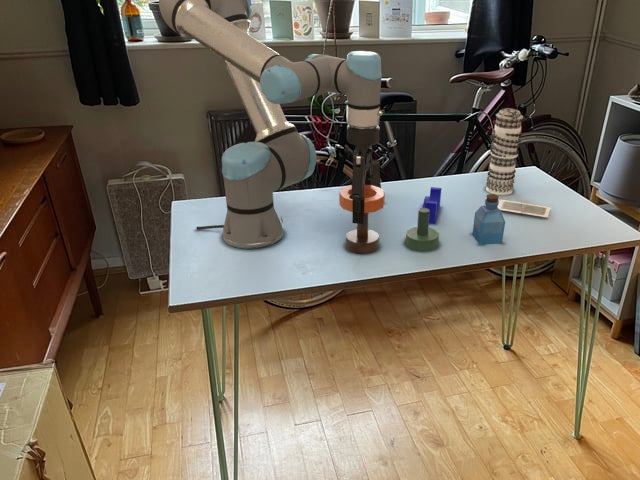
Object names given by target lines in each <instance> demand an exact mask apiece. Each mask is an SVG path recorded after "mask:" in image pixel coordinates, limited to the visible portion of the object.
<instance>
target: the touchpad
mask: <svg viewBox="0 0 640 480" xmlns="http://www.w3.org/2000/svg"><path fill="white" fill-rule="evenodd" d="M498 201H499V204H498V206H497V207H498V208H499V209H500V211H505V212H512V213H517V214H523V215H530V216H536V217H542V218H549V215H550V211H551V208H552V207H550V206H545V205H538V204H533V203H527V202H519V201H514V200H507V199H506V200H505V199H501V198H500V199H499V200H498Z"/></svg>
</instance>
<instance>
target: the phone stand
mask: <svg viewBox="0 0 640 480" xmlns="http://www.w3.org/2000/svg"><path fill="white" fill-rule="evenodd" d="M380 163H381V162H380V160H379V159H378V158H377V159H372V171H373V173H372V174H371V175H374V179H369V180H371V185H373V186H376V187H379V188H381V189H382V184H381V183H382V182H381V173H380V172H381V171H380V169H381V168H380V167H381V166H380V165H381V164H380Z"/></svg>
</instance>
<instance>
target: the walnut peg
mask: <svg viewBox="0 0 640 480" xmlns="http://www.w3.org/2000/svg"><path fill="white" fill-rule="evenodd" d="M345 248H346V250H347V251H349V252H351V253H353V254H359V255H368V254H372V253H375V252H377V250H379V248H380V234H379V233H378V232H377V231H375V230H373V229H370V228H369V213H364V224H356V229H352V230H350V231H348V232H347V233H346V234H345Z"/></svg>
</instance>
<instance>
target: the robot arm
mask: <svg viewBox="0 0 640 480" xmlns="http://www.w3.org/2000/svg"><path fill="white" fill-rule="evenodd" d="M251 6H252V0H158V8H159V12H160V14H161V17H162V19H163V20H164V22H165V24H166V25H167V26H168V27H169V28H170V29H171V30H172V31H173V32H175V33H176V34H177V35H178V36H180V37H182V38H183V39H186V40H191V41H192V40H193V41H196V42H197V43H199V44H200V45H202V46H203V47H205V48H206V49H208V50H209V51H211V52H212V53H214V54H215V55H217V56H218V57H220V58H221V59H222V60H223V63H224V65H225V67H226V69H227V71H228V74H229V76H230V78H231V81H232V82H233V84H234V87H235V89H236V91H237V93H238V95H239V98H240V100H241V102H242V105H243V107H244V109H245V111H246V114H247V116H248V118H249V121H250V123H251V125H252V127H253V129H254V131H255V134H256V137H255V139H254V141H247V142H240V143H237V144H234V145H232V146H231V147H228V148H227V149H226V150H225V151H223V154H222V156H221V175H222V178H223V185H224V193H225V202H226V214H225V219H224V224H218V225H217V224H216V225H215V224H214V225H205V226H203V225H202V226H196V230H209V229H211V230H212V229H222V237H223V241H224V242H225V244H227V245H229V246H231V247H234V248H238V249H247V250H248V249H249V250H250V249H251V250H252V249H261V248H266V247H269V246H272V245H275V244H276V243H278V242H279V241H280V240H282V238H283V236H284V230H283V224H284V222H283V221H284V220H283V217H282V216H280V217H279V216H278V214H277V211H276V208H275V204H274V192H276V191H277V192H278V191H280V190H282V189H284V188H287V187H290V186H292V185H294V184H299V183H301V182H302V181H304V180H305V179H307V178H309V177H310V176H312V174H313V173H314V171H315V169H316V165H317V150H316V147H315V145H314V143H313V142H312V140H311V139H310V138H308V137H307V136H306V135H304V134H300V133H299V132H298V129H297V127H296V125H294V124H292V123H290V122H288V120H287V118H286V116H285V114H284V111H283V109H282V107H281V105H282V104H290V103H294V102H297V101H300V100H303V99H307V98H310V97H311V98H312V97H315V96H319V95H324V94H327V93H335V94H339V95H343V96H346V124H347V125H346V141H347V142H348V143H349V144H351V145H354V146H355V147H354V150H353V152H352V179H351V185H352V193H351V196H349V199H353V212H351V213H352V215H351V216H352V217H351V218H352V222H351V223H352V224H355V225H357V224H364V186H365V185H371V180H369V179H374V175H371V174H372V173H373V171H372V160H373V146H374V145H377V144H378V143H379V142H380V132H381V131H380V129H381V128H380V126H379V125H380V121H381V116H383V114H384V113H383V111H382V110H381V89H382V77H383V72H382V57H381V56H380V54H379V53H377V52H375V51H370V50H369V51H366V50H355V51H354V50H353V51H350V52H349V53H348V54H347V55H346V58H342V57H336V56H331V55H327V54H325V53H322V54H317V53H312V54H309V55H308V56H307V57H306V58H305V59H304V60H300V61H295V62H294V61H291V60H289V59H287V58H286V57H284V56H283V55H282V54H279V53H278V52H276V51H275V50H273V49H272V48H270V47H268V46H267V45H266V44H264V43H263V42H261V41H259V40H258V39H257V38H255V37H253V36H252V35H250V33H249V31H250V27H251V24H252V23H251V20H250V18H251V16H252V8H251Z"/></svg>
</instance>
